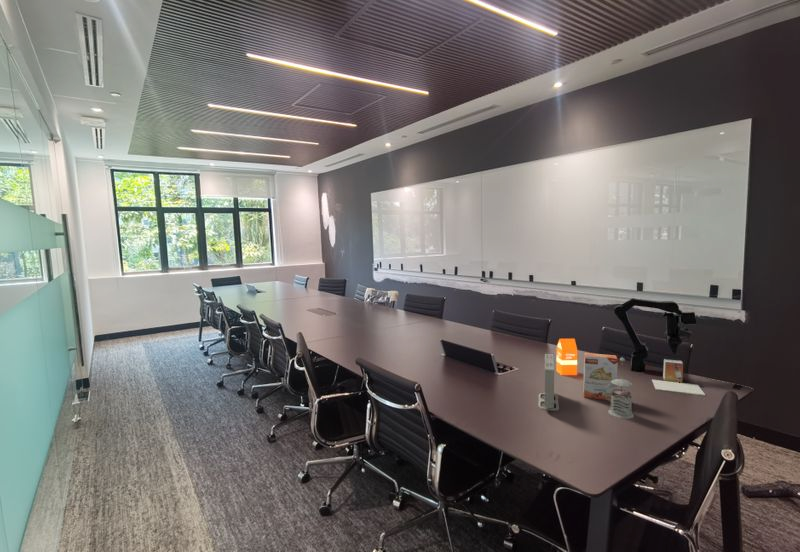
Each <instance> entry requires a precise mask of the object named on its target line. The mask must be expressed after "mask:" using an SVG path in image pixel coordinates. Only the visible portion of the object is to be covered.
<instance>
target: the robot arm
mask: <svg viewBox="0 0 800 552" xmlns="http://www.w3.org/2000/svg"><path fill="white" fill-rule="evenodd" d="M634 307H641V308H649V309H656V310H661V311H664V312H663V313H662V314H661V315H662V317H665V321H666V323H665V324H666V325H665V327H666V330H665V332H664V336H665V339H666V341H667V344H668V346H669V348H670V350H671V352H672V354H673V355H676V354H677V352H678V351H677V350H678V347H679V345H681V344H682V343H683V339H682V337H685V338H687V339H691V338H692V335H693V332H692V331H691V330H689V328H688V327H683V328H681V327H680V323H681V324H682V325H687V326H688V325H691V326H693V325H695V326H696V324H697V319H696V313H695V312H694V311H689V312H687V311H686V312H685V311H684V312H683V311H682V310H681V309H680V307H679V305H678V303H677V302H675V301H674V300H673V301H672V300H664V301H656V300H648V299H639V298H635V297H633V298H630V299H628V300H627V301H625V302H624V303H622V304H617V305H616V306H615V307H614V311H613V312H614V314H615V316H616V317H617V318H618V319H619V321H621V323H622V325H623V327H624V329H625V331H626V333H627V334H628V337H629V338H630V340H631V342H632V345H633V347H634V352H633V351H632V353H631V358H630V367H629V368H630V370H631V372H640V373H641V372H642V373H645V371H646V362H645V359H647V358H648V356H649V348H648V347H647V346H646V342H643V343H642V341H640V340H641V339H639V336H638V335H637V333H636V331H635V329H634V327H633V325H632V323H631V322H630V320H629V317H628V311H629V310H631V309H632V308H634Z"/></svg>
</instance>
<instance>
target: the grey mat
mask: <svg viewBox="0 0 800 552" xmlns="http://www.w3.org/2000/svg"><path fill="white" fill-rule="evenodd" d="M651 382H652V384H653V386H654V388H655V390H656V391H661V390H662V391H661V392H670V393H671V392H672V393H679V394H688V395H695V396H702V397H705V396H706V394H705V392H704V391H703V390H702V388H701V387H700V385H698V384H694V383H685V382H682V383H679V382H673V381H665V380H658V379H651Z"/></svg>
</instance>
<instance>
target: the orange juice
mask: <svg viewBox="0 0 800 552" xmlns="http://www.w3.org/2000/svg"><path fill="white" fill-rule="evenodd" d="M555 370H556V372H557V373H558V374H560V375H561V376H577V375H578V347H577V343H576V339H575V338H559V340H558V342H557V345H556V369H555Z"/></svg>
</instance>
